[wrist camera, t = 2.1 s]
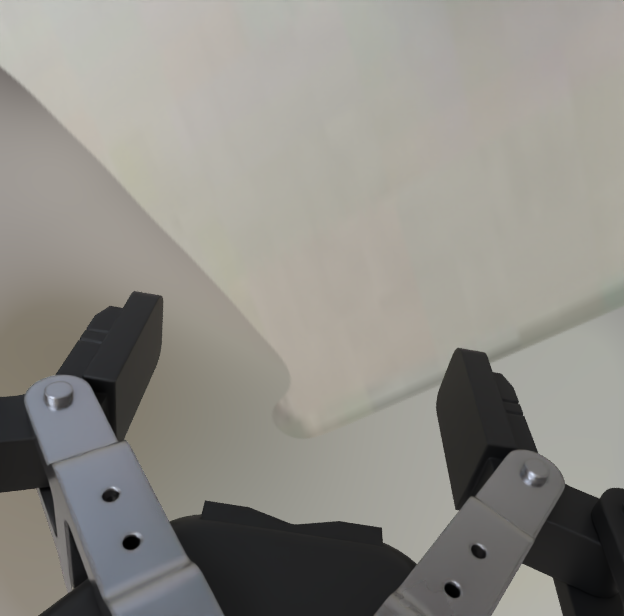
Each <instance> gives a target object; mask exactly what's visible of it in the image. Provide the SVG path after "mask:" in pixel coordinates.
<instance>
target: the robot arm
mask: <svg viewBox="0 0 624 616" xmlns="http://www.w3.org/2000/svg"><path fill="white" fill-rule="evenodd" d="M162 320H163V298H162V296H159V295H154V294H147V293H142V292H136V291H134V292H133V293H132V294H131V295H130V297H129V299H128V300H127V302H126V304H125V306H124V307H123V308H119V307H113V306H109V307H108V308H106V309H105V310H103V311H101V312H100V313H98V314H97V315H95V316H94V318H93V319H92V321H91V322H90V324H89V325H88V327H87V330H85V331H84V333H83V334H82V336H81V338H80V341H78V342H77V343H76V345H75V347H74V348H73V349H72V351H71V352H70V354H69V355H68V357H67V358H66V360H65V361H64V363H63V364H62V366H61V367H60V369H59V370H58V372H57V373H56V375H55V376H50V377H47V378H44V379H41V380H40V381H38V382H36V383H34V384H33V385H32V386H31V387H30V388H29V389H28V390H27V392H26V394H23V395H19V396H9V397H0V493H1V492H10V491H18V490H26V489H35V488H36V489H37V492H38V495H39V498H40V501H41V504H42V507H43V510H44V513H45V516H46V519H47V522H48V525H49V528H50V531H51V534H52V537H53V539H54V543H55V546H56V549H57V552H58V556H59V560H60V565H61V569H62V573H63V577H64V581H65V585H66V588H67V591H68V594H67V595H65V596H64V597H63V598H61V599H60V600H59V601H57V602H56V603H55V604H53V605H52V606H51V607H50V608H48V609H47V610H46V611H44V612H43V613H41V614H40V615H39V616H491V615H492V613H493V612H494V610H495V608H496V607H497V605H498V603H499V601H500V600H501V598H502V596H503V595H504V593H505V591H506V589H507V588H508V586H509V584H510V583H511V581H512V579H513V577H514V576H515V574H516V572H517V571H518V569H519V567H520V565H521V564H525V565H527V566H529V567H532V568H533V569H536V570H538V571H540V572H542V573H544V574H547V575H549V576H551V577H553V580H554V584H555V587H556V591H557V595H558V598H559V602H560V606H561V610H562V613H563V616H624V489H621V488H611V489H608V490H606V491H605V492H604V493H603V494H602V496H601V498H600V499H599V498H597V497H594V496H592V495H589V494H587V493H584V492H582V491H580V490H577V489H575V488H572V487H570V486H568V485H567V484H565V481H564V478H563V475H562V474H561V472H560V471H559V469H558V468H557V467H556V466H555V465H554V464H553V463H552V462H551V461H550V460H548V459H547V458H545V457H544V456H542V455H540V454H538V451H537V449H536V446H535V443H534V441H533V438H532V436H531V433H530V430H529V428H528V425H527V422H526V420H525V417H524V416H523V412H522V409H521V406H520V404H518V402H519V401H518V398H517V396H516V393H515V390H514V388H513V387H512V385H511V384H510V383H509V382H508V381H507V380H506V378H505V377H504V376H503V375H502V374H500V373H494V372H492V369H491V366H490V363H489V360H488V357H487V355H486V353H484V352H479V351H473V350H468V349H462V348H457V349H456V350H455V351H454V353H453V356H452V358H451V361H450V363H449V366H448V368H447V371H446V373H445V376H444V378H443V381H442V383H441V386H440V389H439V392H438V396H437V403H436V411H437V417H438V422H439V427H440V432H441V437H442V442H443V448H444V453H445V458H446V463H447V468H448V473H449V478H450V483H451V489H452V494H453V499H454V504H455V509H456V510H459V512H458V513H457V514H456V515H455V517H454V518H453V519H452V520H451V522H450V523H449V524H448V526H447V527H446V528H445V529H444V531H443V532H442V533H441V534H440V536H439V537H438V538H437V540H436V541H435V542H434V543H433V545H432V546H431V547H430V549H429V550H428V551H427V552H426V554H425V555H424V556H423V558H422V559H421V560H420V561H419V563H418V564H416V563H415V562H414V561H412V560H411V559H410V558H409V557H408V556H406V555H405V554H403V553H402V552H400V551H399V550H397V549H395V548H393V547H391V546H390V545H387V544H385V543H383V539H382V528H379V527H373V526H367V525H360V524H353V523H347V522H341V521H336V522H324V523H311V524H298V525H297V524H295V525H294V524H290V523H287V522H285V521H282V520H280V519H277V518H275V517H272V516H270V515H267V514H265V513H262V512H259V511H257V510H254V509H252V508H249V507H243V506H236V505H230V504H224V503H217V502H211V501H205V503H204V507H203V511H202V514H201V515H192V516H186V517H182V518H179V519H175V520H172V521H170V522H169V520H168V518H167V516H166V514H165V512H164V510H163V508H162V506H161V505H160V503H159V501H158V499H157V497H156V495H155V493H154V491H153V489H152V487H151V485H150V483H149V481H148V479H147V477H146V475H145V474H144V471H143V470H142V468H141V466H140V464H139V462H138V460H137V458H136V456H135V454H134V452H133V450H132V448H131V446H130V445H129V443H128V442H127V441H126V440H124V438H125V435H126V433H127V431H128V429H129V426H130V424H131V422H132V420H133V417H134V415H135V413H136V410H137V408H138V406H139V404H140V401H141V399H142V397H143V395H144V393H145V390H146V388H147V386H148V384H149V381H150V379H151V377H152V374H153V372H154V370H155V368H156V365H157V362H158V360H159V356H160V351H161V344H162V322H163V321H162Z"/></svg>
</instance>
